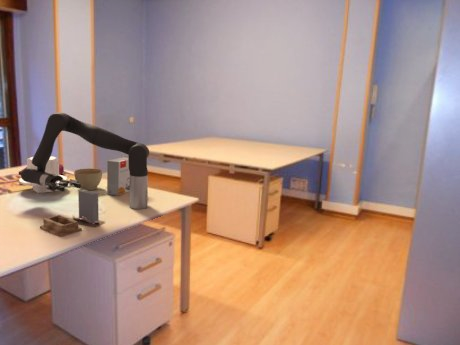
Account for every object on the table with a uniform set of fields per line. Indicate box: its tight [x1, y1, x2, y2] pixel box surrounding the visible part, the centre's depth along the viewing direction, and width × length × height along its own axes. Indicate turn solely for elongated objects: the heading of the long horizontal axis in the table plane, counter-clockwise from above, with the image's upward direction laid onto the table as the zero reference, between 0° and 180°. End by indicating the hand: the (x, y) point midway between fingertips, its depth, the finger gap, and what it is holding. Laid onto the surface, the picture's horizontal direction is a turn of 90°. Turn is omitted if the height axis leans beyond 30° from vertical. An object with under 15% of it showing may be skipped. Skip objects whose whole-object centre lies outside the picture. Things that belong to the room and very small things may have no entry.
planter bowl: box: [73, 167, 104, 191], centre depth 233 cm, size 16×16×11 cm
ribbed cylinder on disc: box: [18, 155, 68, 194], centre depth 223 cm, size 25×25×19 cm
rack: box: [39, 214, 83, 238], centre depth 167 cm, size 15×10×4 cm, turn 57°
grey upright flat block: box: [77, 189, 99, 223], centre depth 177 cm, size 10×3×14 cm, turn 57°
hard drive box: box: [106, 156, 130, 197], centre depth 228 cm, size 16×8×20 cm, turn 161°
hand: (72, 187), depth 182 cm, fingers open, 8 cm apart
